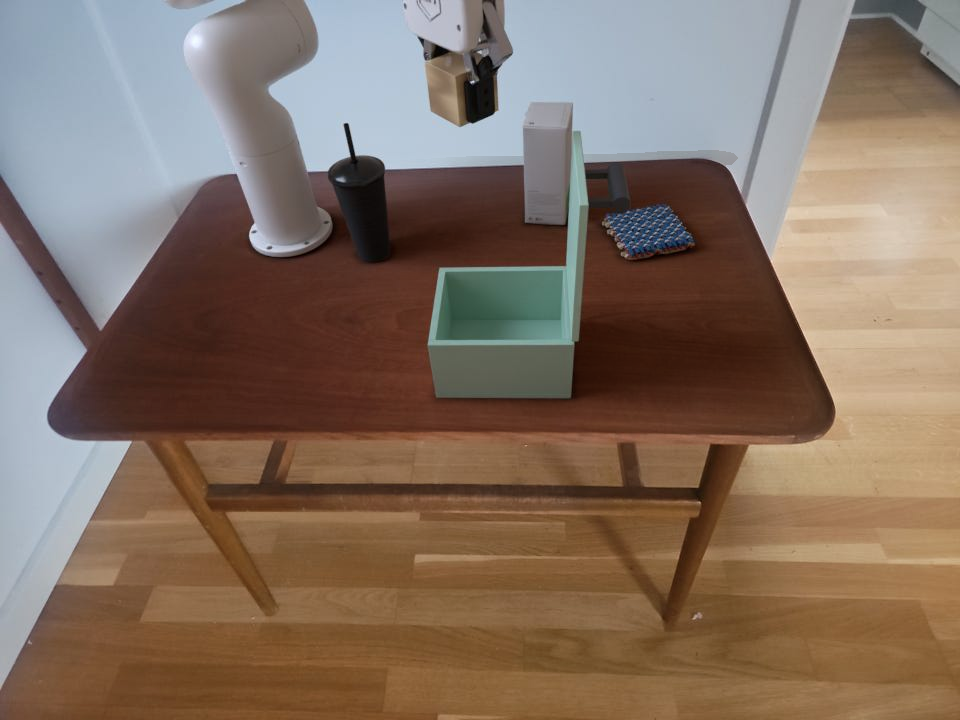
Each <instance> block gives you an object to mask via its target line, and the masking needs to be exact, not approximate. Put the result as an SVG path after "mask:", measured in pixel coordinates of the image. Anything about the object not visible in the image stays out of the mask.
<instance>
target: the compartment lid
mask: <svg viewBox="0 0 960 720" xmlns="http://www.w3.org/2000/svg"><path fill="white" fill-rule="evenodd" d="M583 149H584V148H583V140H582V132H581V130H572V154H571V175H570V196H569V206H568V215H567V219H568V220H567V240H566V260H565V266H566V267H567V283H568V300H569V316H570V333H571V341H574V342H579V340H580V329H581V314H582V301H583V287H584V274H585V273H584V272H585V259H586V247H587V236H588V235H587V233H588V221H589V209H610V210H612V212H613V213H614V214H617V213H619V214H622V213H625V212H627V211H628V210H629V211H630V208H631V206H632V203H631V196H630V192H629V187H628V182H627V176H626V170H625V167H624V165H622V164H621V163H618V162H614V163H611V164H609V165H608V166H607V167H606V169H605V168H603V169H586V168H585V159H584V158H585V157H584V151H583ZM587 180H606V184H607V190H608V197H589V196H588V195H589V194H588V188H587V187H588V186H587V185H588V184H587Z"/></svg>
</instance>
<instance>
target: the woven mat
mask: <svg viewBox="0 0 960 720" xmlns="http://www.w3.org/2000/svg"><path fill="white" fill-rule="evenodd" d="M650 206H651V205H646V207H642V208H640V207H637V208H636V209H631V210H630V209H629V210H628V211H626V212H625V213H621V214H619V213H615V212H612V213H611V214H610V213H609V212H607V213H605V216H604V219H603V220H604V221H602V222H601V225H602V226H605V228H608V229H607V230H606V233H607V235H610V236H611V237H613V238H614V242H615V243H616V246H617V248H618V249H619V250H622V251H621V252H620V256H621V257H624V258H625V259H626V260H628V261H636V260H641V259H647V258H651V257H652V256H654V255H662V254H663V255H667V254H672V253H677V252H681V251H685V250H687V249H693V248H694V246H695V245H696V244H695V240H694V239H693V236H692V233H690V232H689V231H686V229H687V227H686V226H684V225H683V222H680V219H678V218H679V217H678V215H675V214H674V213H673V212H674V210H672V209H671V208H670V206H668V205H667V204H665V203H663V204H661V203H657V204H656V206H655V205H652V206H651V207H650Z"/></svg>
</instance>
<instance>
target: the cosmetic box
mask: <svg viewBox="0 0 960 720" xmlns="http://www.w3.org/2000/svg"><path fill="white" fill-rule="evenodd" d="M527 108H528V109H527V111H525V113H524V116H525V117H524V120H523V124H522V144H523V145H522V154H523V155H522V156H523V187H524V188H523V190H524V191H523V192H524V223H526V224H532V225H533V224H535V225H553V226H565V225H566V222H567V218H568V213H569V196H570V175H571V154H572V133H573V118H574V117H573V115H574V102H567V101H566V102H565V101H564V102H563V101H562V102H561V101H557V102H556V101H555V102H554V101H553V102H552V101H551V102H545V101H544V102H543V101H531V102H530V103H529V106H528V107H527Z"/></svg>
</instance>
